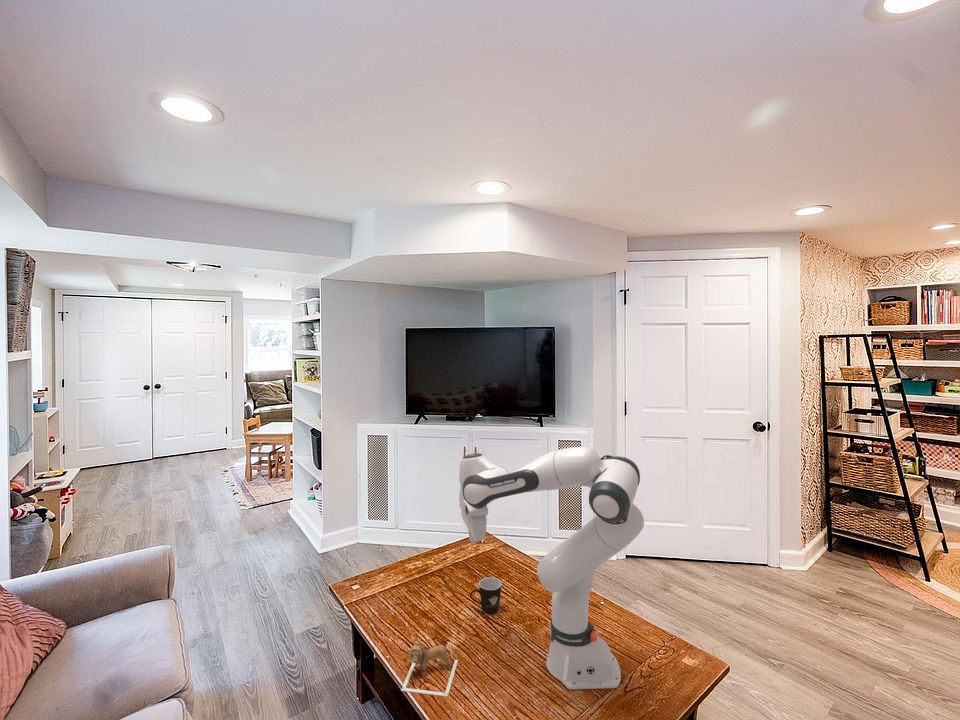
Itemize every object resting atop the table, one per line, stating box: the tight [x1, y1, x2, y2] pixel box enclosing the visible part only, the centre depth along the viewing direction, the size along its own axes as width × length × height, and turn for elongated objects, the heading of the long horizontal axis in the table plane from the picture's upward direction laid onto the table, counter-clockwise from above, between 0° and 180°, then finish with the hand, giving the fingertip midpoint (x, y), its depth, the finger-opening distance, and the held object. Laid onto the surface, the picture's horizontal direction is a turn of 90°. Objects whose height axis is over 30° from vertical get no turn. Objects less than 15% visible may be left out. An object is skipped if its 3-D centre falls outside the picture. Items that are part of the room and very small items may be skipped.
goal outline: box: [400, 659, 459, 697], centre depth 138 cm, size 14×14×1 cm
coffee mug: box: [469, 576, 502, 615], centre depth 170 cm, size 12×9×10 cm
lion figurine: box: [408, 644, 455, 676], centre depth 140 cm, size 15×5×9 cm, turn 114°
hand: (472, 541), depth 152 cm, fingers closed
